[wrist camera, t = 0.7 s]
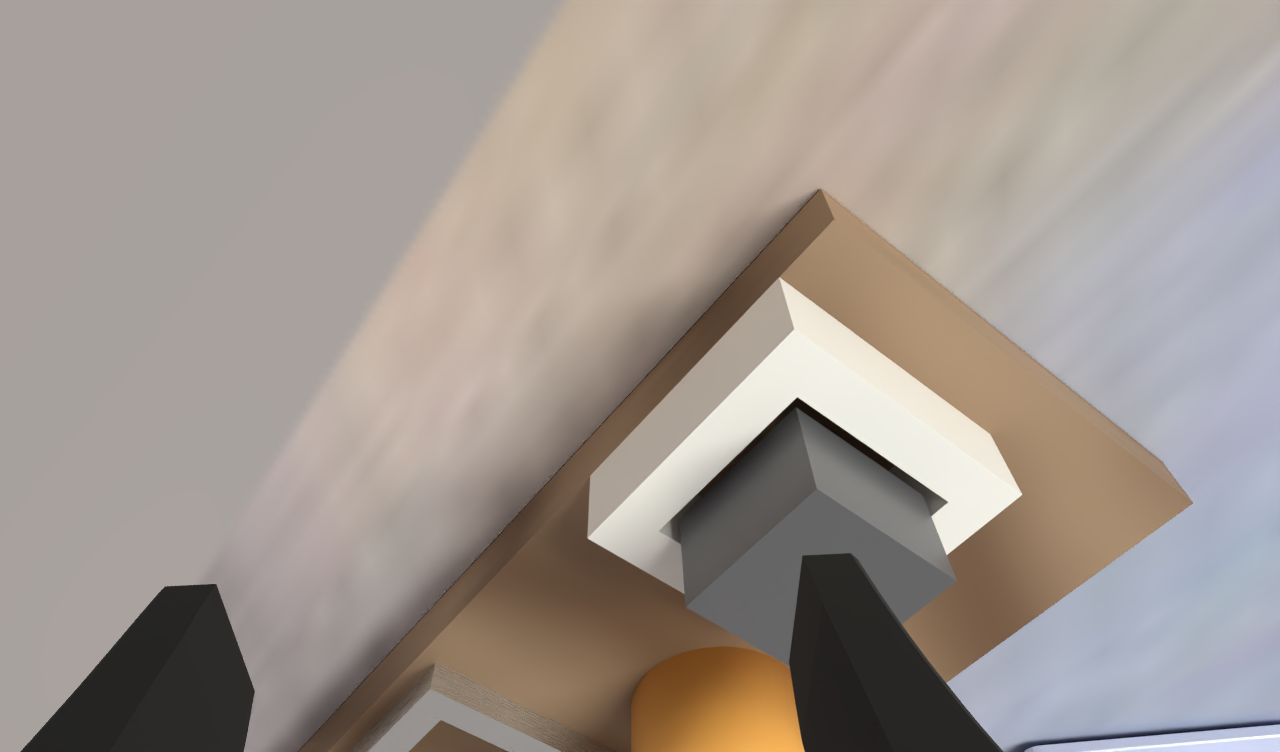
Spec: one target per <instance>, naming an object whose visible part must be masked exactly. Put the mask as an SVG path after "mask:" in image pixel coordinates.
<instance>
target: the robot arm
mask: <svg viewBox="0 0 1280 752" xmlns="http://www.w3.org/2000/svg"><path fill="white" fill-rule="evenodd" d="M789 666H790V672H791V679H792V685H793V691H794V698H795V704H796V710H797V716H798V722H799V727H800V733H801V739H802V743H803V747H804V751H805V752H1003V751H1002V750H1001V749H1000V747H999V746H998V745H997V744H996V743H995V742H994V741H993V739H992V738H991V737H990V736H989V735H988V734H987V732H986V731H985V730H984V729H983V728H982V727H981V726H980V724H979V723H978V722H977V721H976V720H975V718H974V717H973V716H972V715H971V714H970V712H969V711H968V710H967V709H966V708H965V706H964V705H963V704H962V703H961V701H960V700H959V699H958V698H957V696H956V695H955V694H954V693H953V691H952V690H951V689H950V687H949V686H948V685H947V684H946V682H945V681H944V680H943V679H942V677H941V676H940V675H939V673H938V672H937V671H936V670H935V668H934V667H933V666H932V665H931V663H930V662H929V661H928V659H927V658H926V657H925V655H924V654H923V653H922V651H921V650H920V649H919V647H918V646H917V645H916V643H915V642H914V641H913V639H912V638H911V637H910V635H909V634H908V632H907V631H906V630H905V628H904V627H903V625H902V624H901V623H900V621H899V620H898V618H897V617H896V616H895V614H894V613H893V611H892V610H891V608H890V607H889V606H888V604H887V603H886V601H885V600H884V598H883V597H882V595H881V594H880V592H879V591H878V589H877V588H876V586H875V585H874V583H873V582H872V580H871V579H870V577H869V576H868V574H867V573H866V571H865V570H864V568H863V567H862V565H861V563H860V562H859V560H858V559H857V558H856V557H855V556H853V555H852V554H851V553H843V554H822V555H803V556H802V563H801V571H800V579H799V587H798V595H797V603H796V610H795V618H794V626H793V634H792V642H791V650H790V658H789ZM254 692H255V691H254V688H253V685H252V682H251V680H250V677H249V674H248V671H247V668H246V666H245V663H244V660H243V657H242V655H241V652H240V649H239V646H238V643H237V641H236V638H235V635H234V632H233V630H232V627H231V624H230V621H229V618H228V616H227V613H226V610H225V607H224V605H223V602H222V599H221V596H220V594H219V591H218V588H217V585H216V584H208V585H187V586H167V587H164V588H163V589H162V590H161V592H159V593H158V595H157V596H156V597H155V598H154V599H153V600H152V602H151V603H150V604H149V605H148V606H147V607H146V609H145V610H144V611H143V612H142V613H141V614H140V616H139V617H138V618H137V619H136V620H135V621H134V623H133V624H132V625H131V626H130V627H129V628H128V630H127V631H126V632H125V633H124V634H123V635H122V637H121V638H120V639H119V640H118V641H117V643H116V644H115V645H114V646H113V647H112V649H111V650H110V651H109V652H108V653H107V654H106V656H105V657H104V658H103V659H102V660H101V661H100V663H99V664H98V665H97V666H96V667H95V669H94V670H93V671H92V672H91V673H90V674H89V675H88V677H87V678H86V679H85V680H84V681H83V682H82V683H81V685H80V686H79V687H78V688H77V689H76V690H75V691H74V693H73V694H72V695H71V696H70V697H69V698H68V699H67V700H66V702H65V703H64V704H63V705H62V706H61V707H60V708H59V709H58V711H57V712H56V713H55V714H54V715H53V716H52V717H51V718H50V719H49V721H48V722H47V723H46V724H45V725H44V726H43V727H42V729H41V730H40V731H39V732H38V733H37V734H36V735H35V736H34V737H33V739H32V740H31V741H30V742H29V743H28V744H27V745H26V746H25V747H24V748H23V750H22V751H21V752H244V747H245V742H246V737H247V732H248V726H249V720H250V715H251V709H252V703H253V698H254ZM1024 752H1280V724H1278V725H1267V726H1255V727H1244V728H1232V729H1221V730H1210V731H1198V732H1187V733H1175V734H1164V735H1152V736H1141V737H1129V738H1118V739H1106V740H1095V741H1083V742H1072V743H1060V744H1049V745H1038V746H1033V747H1031V748H1028V749H1027V750H1025V751H1024Z"/></svg>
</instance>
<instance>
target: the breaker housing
mask: <svg viewBox="0 0 1280 752" xmlns="http://www.w3.org/2000/svg"><path fill="white" fill-rule="evenodd" d="M797 397H798V398H799V399H801V400H802V401H804V402H805V403H807V404H808V405H809V406H811V407H812V408H814V409H815V410H817V411H818V412H820V413H821V414H822V415H824V416H825V417H827V418H828V419H830V420H831V421H832V422H834V423H835V424H837V425H838V426H840V427H841V428H843V429H844V430H845V431H847V432H848V433H850V434H851V435H853V436H854V437H856V438H857V439H858V440H860V441H861V442H863V443H864V444H866V445H867V446H868V447H870V448H871V449H873V450H874V451H876V452H877V453H879V454H880V455H881V456H883V457H884V458H886V459H887V460H889V461H890V462H891V463H893V464H894V465H895V466H894V467H892V468H891V469H890V470H889V472H891V473H892V474H894V475H895V476H896V477H898V478H899V479H901V480H902V481H904V482H905V483H907V484H908V485H909V486H911V487H912V488H914V489H915V490H917V491H918V492H920V493H921V494H922V495H923V497H924V499H925V502H926V504H927V507H928V509H929V512H930V514H931V517H932V520H933V522H934V525H935V527H936V530H937V532H938V535H939V537H940V540H941V542H942V545H943V547H944V550H945V552H946V555H948V554H949V553H950V552H951V551H953V550H954V549H955V548H956V547H958V546H959V545H960V544H961V543H963V542H964V541H965V540H966V539H968V538H969V537H970V536H971V535H973V534H974V533H975V532H976V531H978V530H979V529H980V528H981V527H983V526H984V525H985V524H986V523H988V522H989V521H990V520H991V519H993V518H994V517H995V516H996V515H998V514H999V513H1000V512H1001V511H1003V510H1004V509H1005V508H1006V507H1008V506H1009V505H1010V504H1011V503H1013V502H1014V501H1015V500H1016V499H1018V498H1019V497H1020V496H1021V495H1022V493H1021V491H1020V489H1019V487H1018V485H1017V484H1016V482H1015V480H1014V478H1013V476H1012V474H1011V472H1010V470H1009V469H1008V467H1007V465H1006V463H1005V461H1004V459H1003V457H1002V455H1001V453H1000V452H999V450H998V448H997V446H996V444H995V442H994V440H993V438H992V437H991V435H990V434H989V433H988V432H987V431H985V430H984V429H983V428H981V427H980V426H979V425H977V424H976V423H975V422H973V421H972V420H970V419H969V418H968V417H966V416H965V415H964V414H962V413H961V412H960V411H958V410H957V409H956V408H954V407H953V406H952V405H950V404H949V403H948V402H946V401H945V400H944V399H942V398H941V397H940V396H938V395H937V394H936V393H934V392H933V391H932V390H930V389H929V388H928V387H926V386H925V385H923V384H922V383H921V382H919V381H918V380H917V379H915V378H914V377H913V376H911V375H910V374H909V373H907V372H906V371H905V370H903V369H902V368H901V367H899V366H898V365H897V364H895V363H894V362H893V361H891V360H890V359H889V358H887V357H886V356H885V355H883V354H882V353H880V352H879V351H878V350H876V349H875V348H874V347H872V346H871V345H870V344H868V343H867V342H866V341H864V340H863V339H862V338H860V337H859V336H858V335H856V334H855V333H854V332H852V331H851V330H850V329H848V328H847V327H846V326H844V325H843V324H842V323H840V322H839V321H837V320H836V319H835V318H833V317H832V316H831V315H829V314H828V313H827V312H825V311H824V310H823V309H821V308H820V307H819V306H817V305H816V304H815V303H813V302H812V301H811V300H809V299H808V298H807V297H805V296H804V295H803V294H801V293H800V292H799V291H797V290H796V289H795V288H793V287H792V286H790V285H789V284H788V283H786V282H785V281H784V280H782V279H781V278H780V277H779V278H778V279H777V280H776V281H775V282H774V283H773V284H772V285H771V286H770V287H769V288H768V289H767V290H766V291H765V293H764V294H763V295H762V296H761V297H760V298H759V299H758V300H757V301H756V302H755V303H754V304H753V305H752V306H751V307H750V308H749V309H748V310H747V311H746V313H745V314H744V315H743V316H742V317H741V318H740V319H739V320H738V321H737V322H736V323H735V324H734V325H733V326H732V327H731V328H730V329H729V330H728V331H727V332H726V334H725V335H724V336H723V337H722V338H721V339H720V340H719V341H718V342H717V343H716V344H715V345H714V346H713V347H712V348H711V349H710V350H709V351H708V352H707V354H706V355H705V356H704V357H703V358H702V359H701V360H700V361H699V362H698V363H697V364H696V365H695V366H694V367H693V368H692V369H691V370H690V371H689V372H688V373H687V375H686V376H685V377H684V378H683V379H682V380H681V381H680V382H679V383H678V384H677V385H676V386H675V387H674V388H673V389H672V390H671V391H670V392H669V393H668V395H667V396H666V397H665V398H664V399H663V400H662V401H661V402H660V403H659V404H658V405H657V406H656V407H655V408H654V409H653V410H652V411H651V412H650V413H649V414H648V416H647V417H646V418H645V419H644V420H643V421H642V422H641V423H640V424H639V425H638V426H637V427H636V428H635V429H634V430H633V431H632V432H631V433H630V434H629V436H628V437H627V438H626V439H625V440H624V441H623V442H622V443H621V444H620V445H619V446H618V447H617V448H616V449H615V450H614V451H613V452H612V453H611V454H610V455H609V457H608V458H607V459H606V460H605V461H604V462H603V463H602V464H601V465H600V466H599V467H598V468H597V469H596V470H595V471H594V472H593V473H592V474H591V475H590V492H589V514H588V535H587V538H588V539H589V540H591V541H593V542H595V543H596V544H598V545H600V546H602V547H603V548H605V549H607V550H609V551H610V552H612V553H614V554H615V555H617V556H619V557H621V558H622V559H624V560H626V561H628V562H629V563H631V564H633V565H635V566H636V567H638V568H640V569H642V570H643V571H645V572H647V573H649V574H650V575H652V576H654V577H656V578H657V579H659V580H661V581H663V582H664V583H666V584H668V585H670V586H671V587H673V588H675V589H677V590H678V591H680V592H682V593H683V594H685V593H684V579H683V565H682V551H681V537H680V523H679V519H680V518H681V517H682V516H683V515H684V514H685V513H686V512H687V511H688V510H689V509H690V508H691V507H692V506H693V505H694V504H695V503H696V502H698V501H699V500H700V499H701V498H702V497H700V496H699V495H697V494H698V493H699V492H700V491H701V490H702V489H703V488H704V487H705V486H706V485H707V484H708V483H709V482H710V481H711V480H712V479H713V478H714V477H715V476H716V475H717V474H718V473H719V472H720V471H721V470H722V469H723V468H724V467H725V466H726V465H728V464H729V463H730V462H731V461H732V460H733V459H734V458H735V457H736V456H737V455H738V454H739V453H740V452H741V451H742V450H743V449H744V448H745V447H746V446H747V445H748V444H749V443H750V442H751V441H752V440H753V439H754V438H755V437H756V436H758V435H759V434H760V433H761V432H762V431H763V430H764V429H765V428H766V427H767V426H768V425H769V424H770V423H771V422H772V421H773V420H774V419H775V418H776V417H777V416H778V415H779V414H780V413H781V412H782V411H783V410H784V409H785V408H786V407H788V406H789V405H790V404H791V403H792V402H793V401H794V400H795V399H796V398H797Z"/></svg>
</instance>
